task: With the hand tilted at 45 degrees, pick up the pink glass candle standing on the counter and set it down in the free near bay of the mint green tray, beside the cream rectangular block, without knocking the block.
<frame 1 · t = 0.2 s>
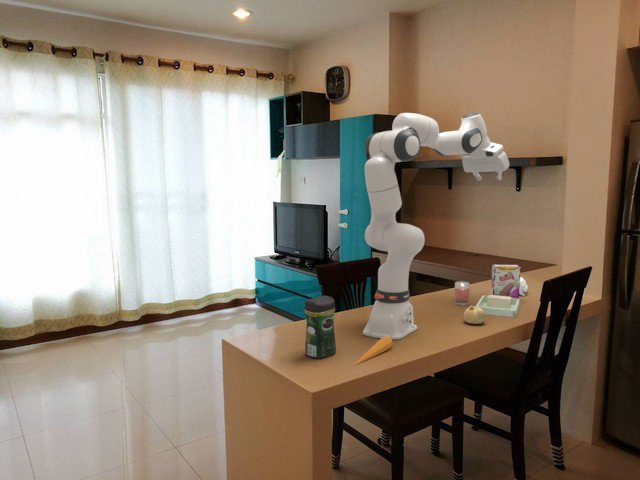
hand: (489, 179, 211), 54 cm above the counter, tool tilted 30°, fingers open, 8 cm apart
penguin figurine: (520, 294, 233), on the counter
coffee jar: (320, 354, 158), on the counter
onion: (474, 323, 189), on the counter
mint green tray: (497, 310, 205), on the counter
pink glass candle: (461, 305, 213), on the counter
cream rectangular block: (499, 306, 209), point 1 cm above the counter, touching mint green tray
candy bar box: (504, 302, 219), on the counter
carrot: (371, 356, 157), on the counter
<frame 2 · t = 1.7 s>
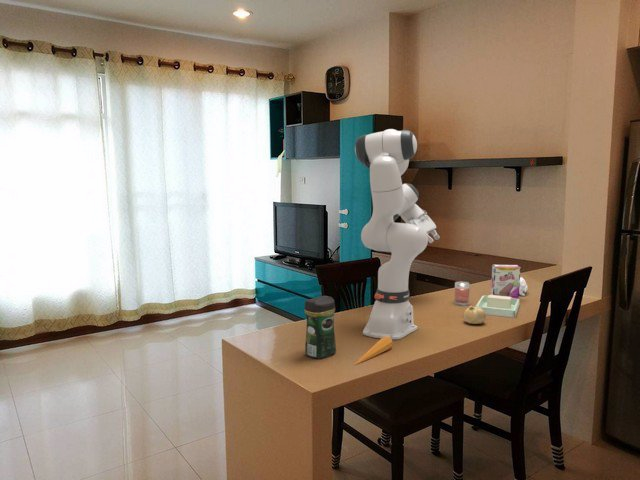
hand: (435, 240, 215), 28 cm above the counter, tool tilted 45°, fingers open, 8 cm apart
nothing on the counter moved.
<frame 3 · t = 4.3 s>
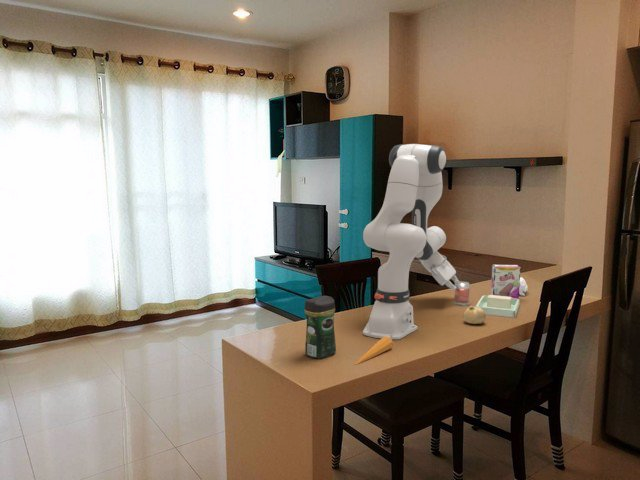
hand: (457, 287, 214), 8 cm above the counter, tool tilted 45°, fingers open, 8 cm apart
nothing on the counter moved.
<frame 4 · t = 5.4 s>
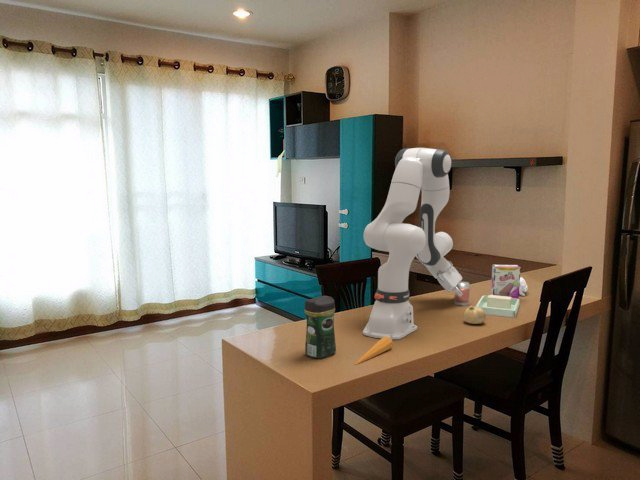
hand: (463, 293, 212), 5 cm above the counter, tool tilted 45°, fingers closed on pink glass candle, 6 cm apart
pink glass candle: (461, 305, 213), on the counter, touching gripper
everything else where it was.
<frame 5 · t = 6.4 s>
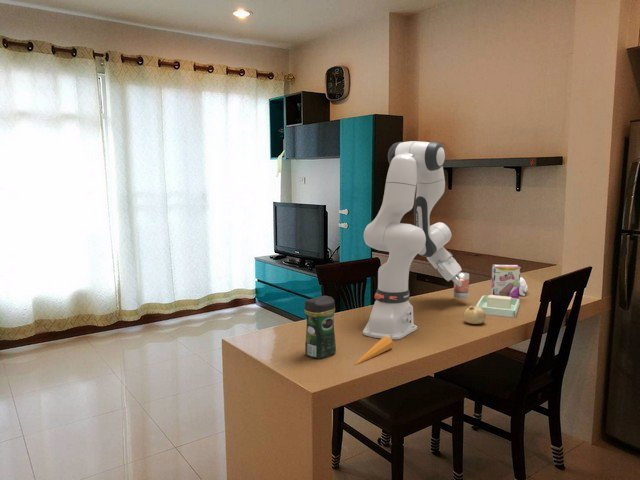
hand: (462, 283, 211), 10 cm above the counter, tool tilted 45°, fingers closed on pink glass candle, 6 cm apart
pink glass candle: (460, 296, 212), point 4 cm above the counter, touching gripper
everything else where it was.
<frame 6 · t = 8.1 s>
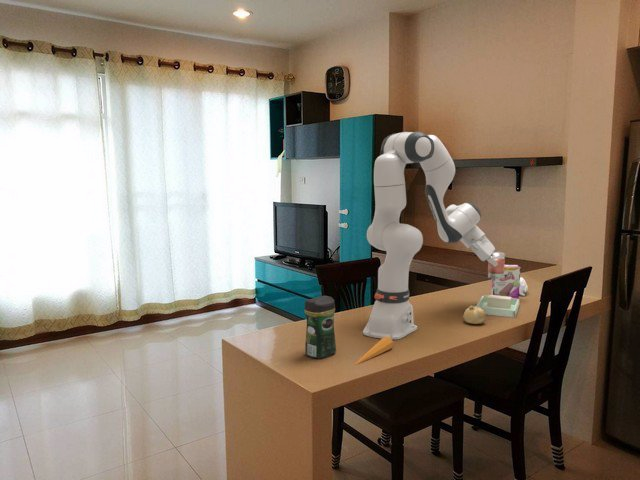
hand: (498, 263, 199), 20 cm above the counter, tool tilted 45°, fingers closed on pink glass candle, 6 cm apart
pink glass candle: (495, 277, 200), point 15 cm above the counter, touching gripper
everything else where it was.
when the fingers open (8 cm above the counter, at t = 11.2 s): pink glass candle drops 1 cm, resting on mint green tray.
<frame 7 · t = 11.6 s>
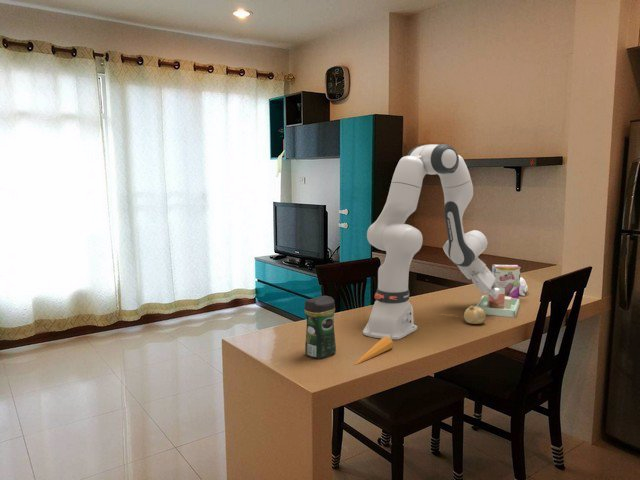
hand: (498, 295, 200), 8 cm above the counter, tool tilted 45°, fingers open, 8 cm apart
pink glass candle: (496, 311, 201), point 1 cm above the counter, touching mint green tray
everything else where it was.
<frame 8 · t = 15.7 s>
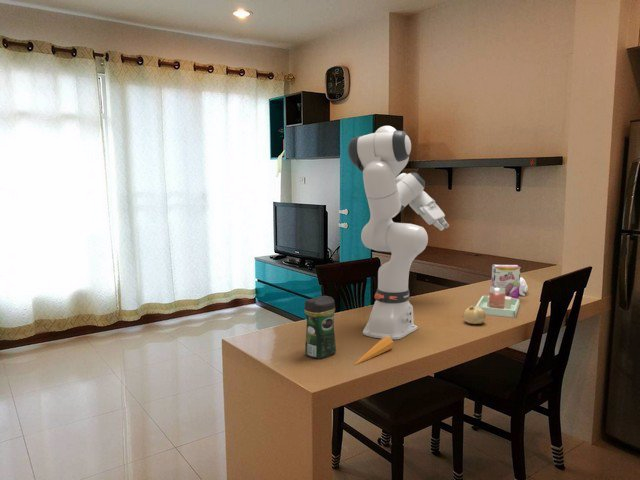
hand: (445, 228, 210), 33 cm above the counter, tool tilted 45°, fingers open, 8 cm apart
nothing on the counter moved.
at the end: pink glass candle inside the target area on the mint green tray (0.3 cm from its centre), point 0.9 cm above the mint green tray's base; pink glass candle tilted 1°; cream rectangular block moved 0.1 cm from its start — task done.
